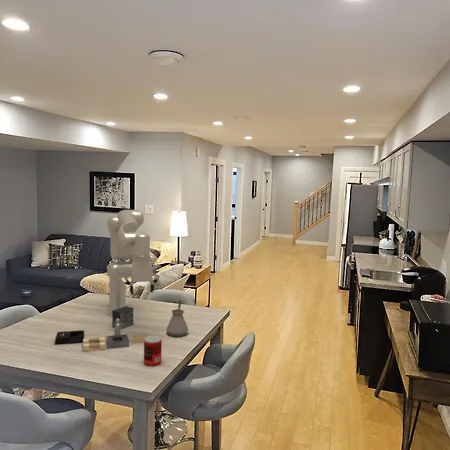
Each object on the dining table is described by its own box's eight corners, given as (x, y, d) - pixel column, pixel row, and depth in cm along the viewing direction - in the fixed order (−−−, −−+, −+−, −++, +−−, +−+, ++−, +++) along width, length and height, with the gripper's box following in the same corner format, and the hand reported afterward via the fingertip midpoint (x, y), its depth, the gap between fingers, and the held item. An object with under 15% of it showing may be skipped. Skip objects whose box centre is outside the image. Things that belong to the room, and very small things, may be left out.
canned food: (162, 358, 188) (162, 335, 187) (160, 366, 180) (160, 342, 179) (145, 358, 187) (145, 335, 186) (142, 366, 179) (142, 341, 178)
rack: (83, 344, 201) (83, 338, 201) (104, 342, 204) (104, 337, 204) (83, 352, 192) (83, 346, 191) (105, 350, 195) (105, 344, 195)
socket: (106, 341, 206) (106, 336, 205) (126, 340, 209) (126, 334, 209) (107, 349, 196) (107, 343, 196) (129, 347, 199) (129, 341, 199)
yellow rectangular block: (133, 342, 206) (133, 336, 206) (145, 340, 208) (145, 335, 208) (134, 344, 204) (134, 338, 204) (146, 342, 206) (146, 337, 206)
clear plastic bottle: (114, 343, 203) (114, 318, 202) (120, 343, 204) (120, 317, 203) (114, 346, 201) (114, 320, 199) (120, 345, 202) (121, 319, 200)
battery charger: (55, 346, 199) (55, 338, 198) (57, 339, 208) (57, 331, 208) (83, 344, 202) (83, 336, 202) (84, 337, 212) (84, 330, 211)
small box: (125, 323, 234) (125, 305, 233) (134, 325, 231) (134, 307, 230) (111, 328, 225) (111, 310, 224) (120, 331, 221) (120, 312, 221)
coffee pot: (187, 338, 213) (187, 310, 212) (164, 338, 213) (165, 310, 212) (190, 325, 235) (190, 299, 233) (170, 324, 234) (170, 298, 233)
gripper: (158, 257, 210) (158, 290, 211) (123, 258, 205) (123, 292, 206) (160, 259, 203) (160, 293, 204) (124, 260, 198) (124, 295, 199)
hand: (141, 292), depth 205 cm, fingers open, 9 cm apart
